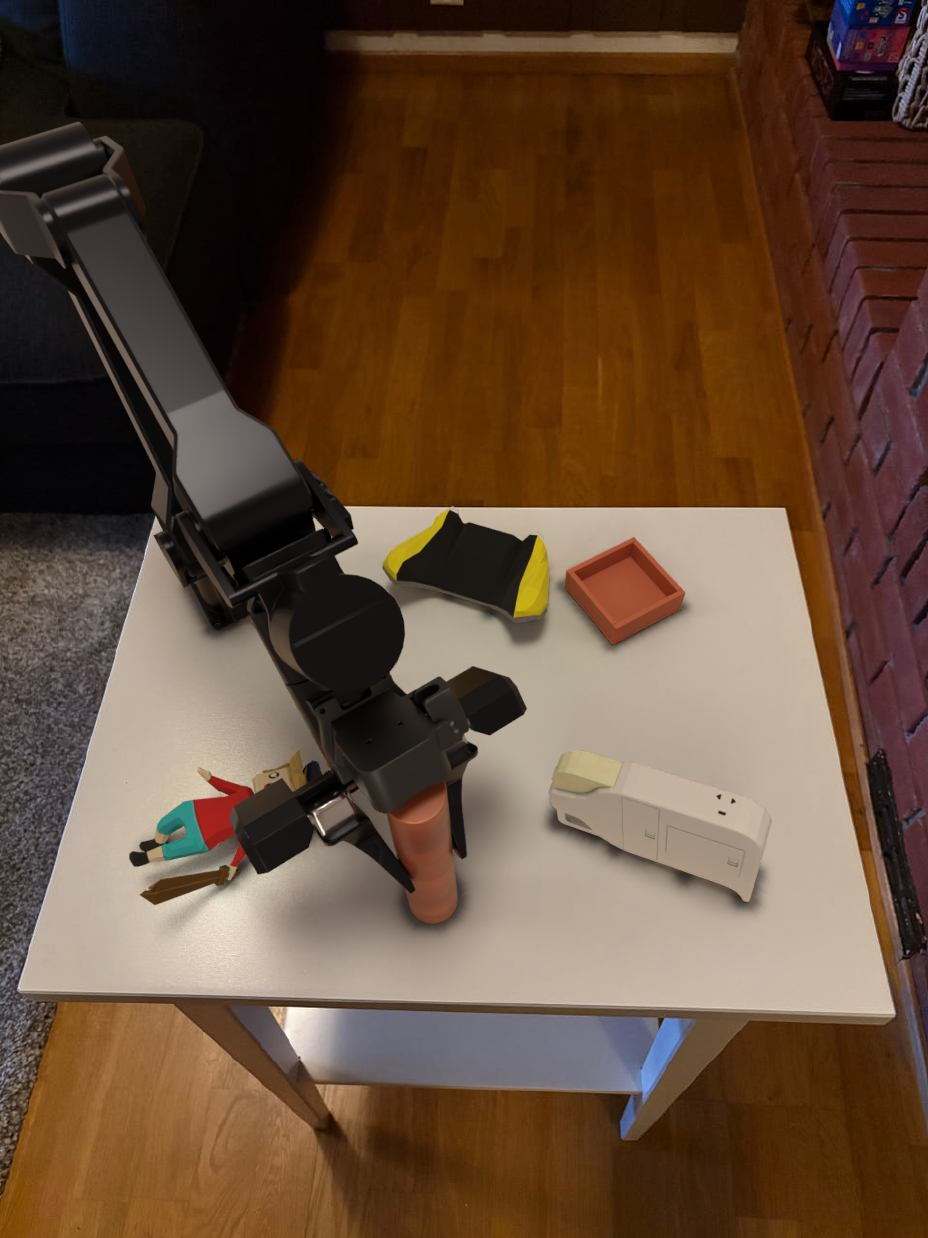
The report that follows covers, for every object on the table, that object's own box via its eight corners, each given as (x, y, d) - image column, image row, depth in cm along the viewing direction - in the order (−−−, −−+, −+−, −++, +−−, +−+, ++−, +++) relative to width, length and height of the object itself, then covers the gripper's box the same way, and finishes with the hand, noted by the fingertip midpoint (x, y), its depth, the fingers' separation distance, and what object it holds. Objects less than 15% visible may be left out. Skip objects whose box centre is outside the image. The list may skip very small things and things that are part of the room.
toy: (111, 786, 63) (313, 722, 66) (138, 826, 68) (325, 765, 71) (126, 903, 57) (345, 828, 60) (154, 938, 62) (356, 867, 65)
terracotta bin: (564, 586, 80) (566, 570, 78) (630, 553, 82) (634, 536, 80) (612, 645, 76) (615, 629, 74) (680, 608, 78) (685, 592, 76)
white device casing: (566, 805, 70) (757, 869, 64) (554, 836, 68) (748, 905, 63) (556, 734, 61) (776, 801, 56) (542, 768, 60) (766, 840, 54)
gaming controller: (534, 652, 76) (571, 568, 81) (537, 616, 71) (575, 529, 76) (379, 602, 79) (423, 524, 84) (372, 564, 75) (420, 485, 80)
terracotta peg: (400, 890, 64) (370, 782, 48) (442, 866, 65) (427, 752, 49) (423, 933, 62) (401, 835, 47) (467, 907, 63) (458, 803, 48)
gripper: (195, 774, 42) (340, 1026, 45) (512, 595, 47) (618, 832, 51) (178, 730, 52) (297, 938, 56) (440, 587, 58) (533, 784, 61)
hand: (436, 873), depth 55 cm, fingers closed on terracotta peg, 3 cm apart
